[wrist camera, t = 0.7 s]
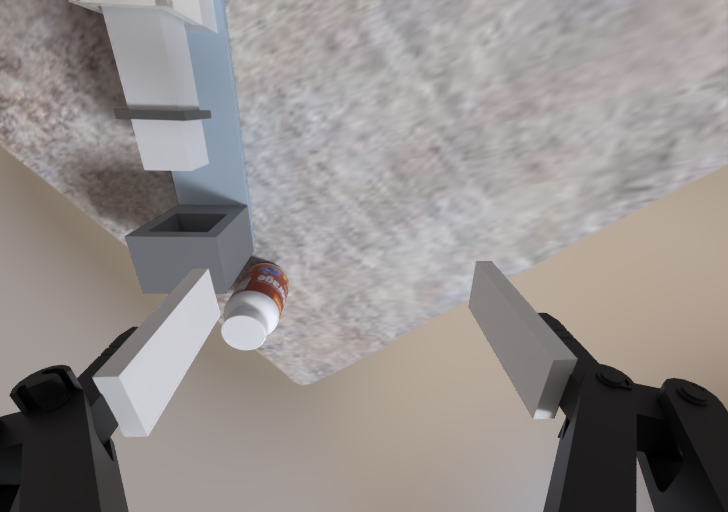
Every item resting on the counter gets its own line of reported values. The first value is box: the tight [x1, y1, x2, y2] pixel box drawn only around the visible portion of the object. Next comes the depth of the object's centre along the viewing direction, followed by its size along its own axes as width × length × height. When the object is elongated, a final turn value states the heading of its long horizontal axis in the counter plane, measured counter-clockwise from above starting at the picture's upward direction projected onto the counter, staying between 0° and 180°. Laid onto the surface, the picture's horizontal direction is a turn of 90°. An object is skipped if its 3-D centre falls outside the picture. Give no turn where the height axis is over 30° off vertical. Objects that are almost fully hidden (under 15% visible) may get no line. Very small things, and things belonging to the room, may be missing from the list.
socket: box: [125, 204, 254, 294], centre depth 34 cm, size 6×8×10 cm
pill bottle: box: [221, 263, 290, 350], centre depth 38 cm, size 6×6×11 cm
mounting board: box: [171, 0, 256, 250], centre depth 34 cm, size 32×8×1 cm, turn 178°
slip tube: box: [101, 6, 211, 171], centre depth 24 cm, size 24×5×5 cm, turn 178°
